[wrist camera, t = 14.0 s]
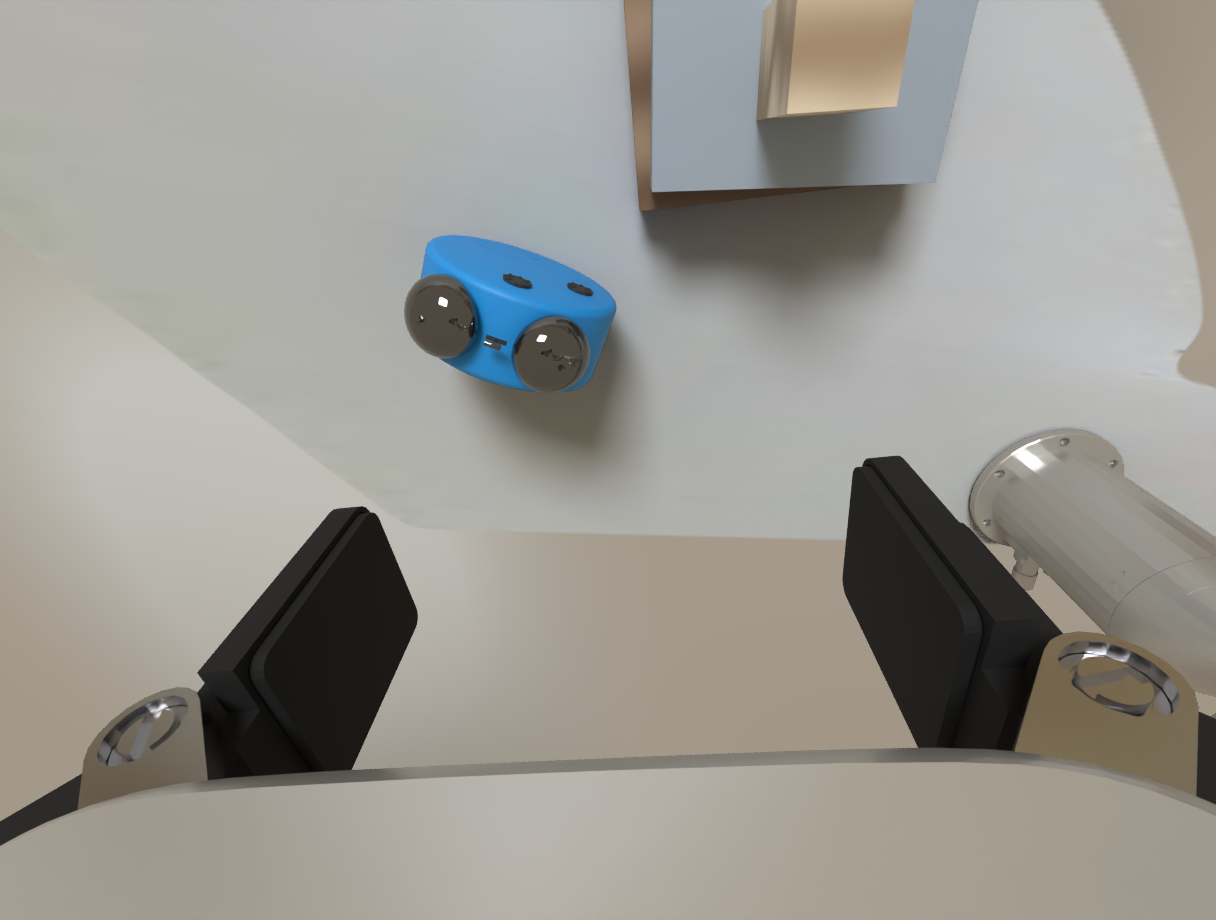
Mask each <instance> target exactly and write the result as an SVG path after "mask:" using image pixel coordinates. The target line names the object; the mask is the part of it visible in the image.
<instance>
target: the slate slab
mask: <svg viewBox="0 0 1216 920" xmlns="http://www.w3.org/2000/svg"><path fill="white" fill-rule="evenodd" d="M772 1H773V0H651V158H650V188H651V191H652V192H671V191H701V190H732V189H763V188H794V187H824V186H855V185H886V184H917V183H935V182H936V177H937V173H938V169H939V165H940V160H941V156H942V152H943V148H944V144H945V139H946V135H947V131H948V127H949V123H950V118H951V114H952V110H953V106H954V101H955V97H956V93H957V89H958V85H959V80H960V76H961V72H962V68H963V63H964V59H965V55H966V51H967V47H968V42H969V38H970V34H971V30H972V26H973V21H974V17H975V13H976V9H977V4H978V0H915V3H914V9H913V14H912V20H911V26H910V32H909V38H908V44H907V49H906V55H905V61H904V67H903V73H902V79H901V84H900V90H899V96H898V102H897V107H890V108H884V109H877V110H870V111H864V112H857V113H850V114H843V115H829V116H814V117H800V118H785V119H771V120H756V116H757V101H758V85H759V70H760V54H761V39H762V24H763V10H764V9H765V8H766V7H767V6H768V5H769V4H770V3H771V2H772Z"/></svg>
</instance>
